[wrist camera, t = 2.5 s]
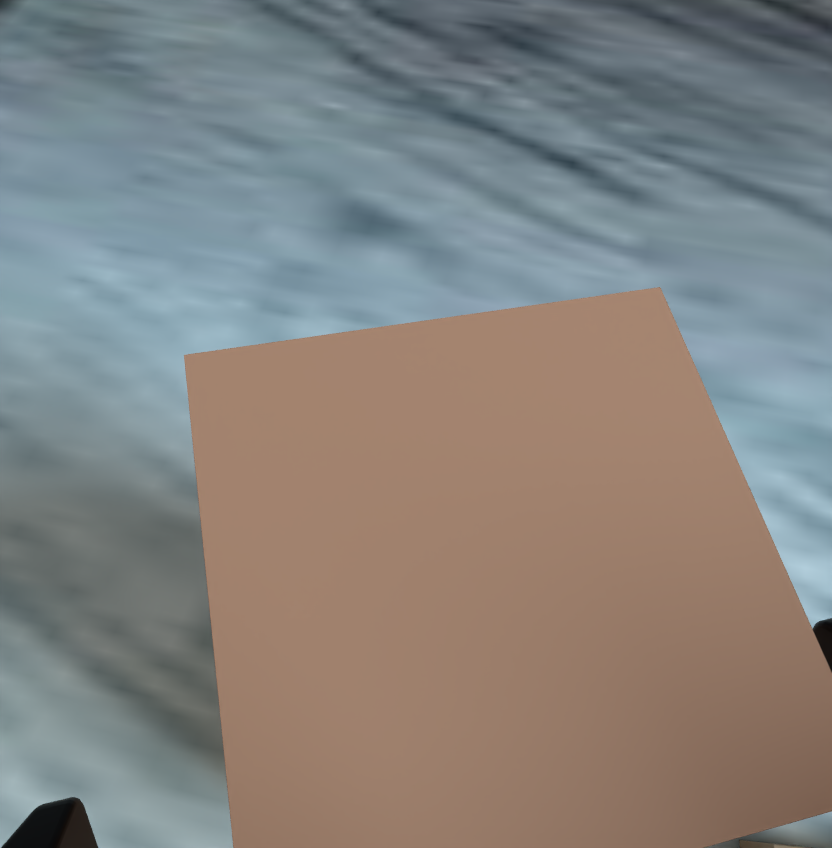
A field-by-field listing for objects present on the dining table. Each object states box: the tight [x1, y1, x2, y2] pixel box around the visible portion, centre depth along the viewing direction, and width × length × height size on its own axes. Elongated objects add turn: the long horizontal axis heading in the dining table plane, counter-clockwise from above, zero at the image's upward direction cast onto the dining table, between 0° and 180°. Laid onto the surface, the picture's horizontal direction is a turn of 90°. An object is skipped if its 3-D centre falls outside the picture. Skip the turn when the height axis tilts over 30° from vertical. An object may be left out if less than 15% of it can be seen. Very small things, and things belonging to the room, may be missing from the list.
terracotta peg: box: [184, 287, 832, 848], centre depth 12 cm, size 5×5×12 cm
